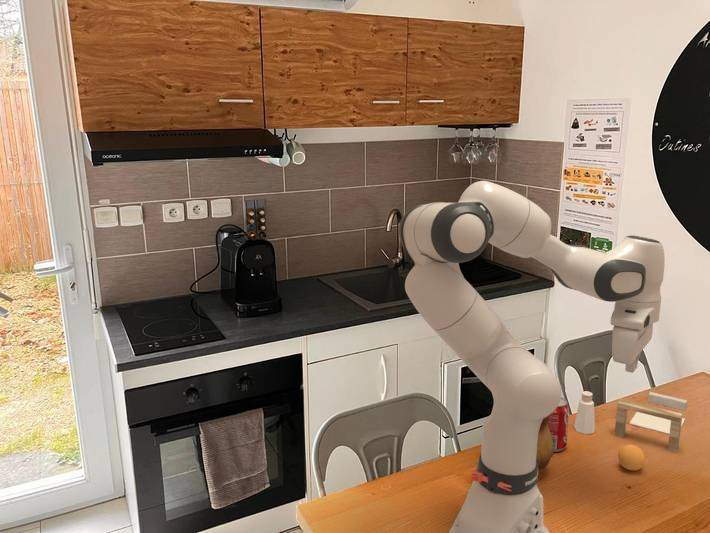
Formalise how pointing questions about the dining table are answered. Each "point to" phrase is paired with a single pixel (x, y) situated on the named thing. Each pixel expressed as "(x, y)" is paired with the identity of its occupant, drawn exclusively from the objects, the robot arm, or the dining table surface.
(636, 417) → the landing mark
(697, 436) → the dining table surface
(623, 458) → the ball
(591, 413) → the salt shaker
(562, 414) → the soda can
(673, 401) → the wooden block bar
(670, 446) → the bridge
